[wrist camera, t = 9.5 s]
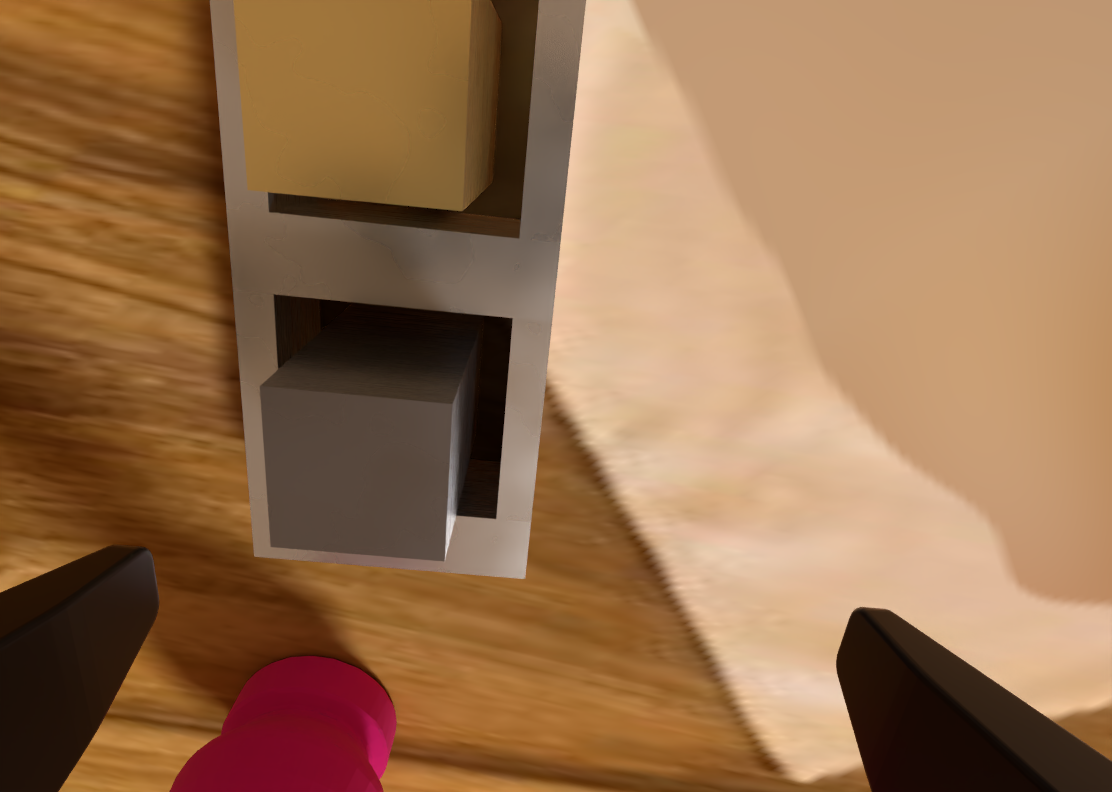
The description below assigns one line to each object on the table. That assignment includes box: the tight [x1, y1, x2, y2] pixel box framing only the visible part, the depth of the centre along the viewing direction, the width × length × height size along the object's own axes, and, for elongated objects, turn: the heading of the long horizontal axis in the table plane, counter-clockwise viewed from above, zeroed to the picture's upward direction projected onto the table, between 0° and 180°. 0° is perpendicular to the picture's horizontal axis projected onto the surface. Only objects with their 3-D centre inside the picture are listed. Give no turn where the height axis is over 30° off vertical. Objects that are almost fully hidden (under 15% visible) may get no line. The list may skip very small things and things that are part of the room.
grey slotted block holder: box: [210, 0, 586, 579], centre depth 16 cm, size 18×8×7 cm, turn 174°
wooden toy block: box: [233, 0, 502, 211], centre depth 15 cm, size 4×4×7 cm
